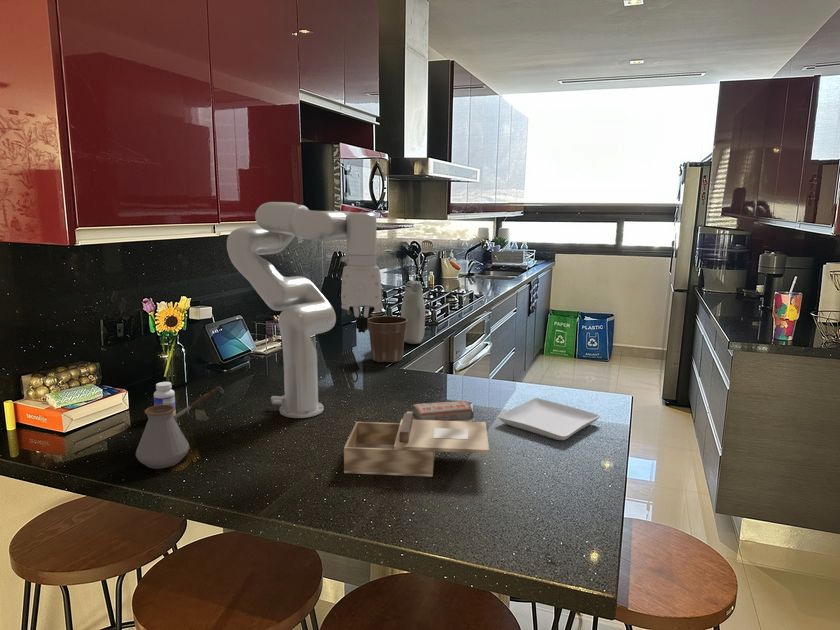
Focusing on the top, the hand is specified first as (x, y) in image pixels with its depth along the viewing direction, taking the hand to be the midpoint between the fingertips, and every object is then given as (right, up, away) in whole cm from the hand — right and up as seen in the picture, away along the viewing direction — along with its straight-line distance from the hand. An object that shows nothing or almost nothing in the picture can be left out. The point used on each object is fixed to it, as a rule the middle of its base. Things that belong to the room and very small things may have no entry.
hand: (362, 331), depth 149 cm
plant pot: (+2, -13, +76) cm, 77 cm away
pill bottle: (-57, -25, +12) cm, 63 cm away
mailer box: (+9, -30, -13) cm, 34 cm away
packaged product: (+21, -26, +13) cm, 36 cm away
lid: (+20, -24, -15) cm, 35 cm away
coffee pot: (-42, -30, -12) cm, 52 cm away
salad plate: (+51, -27, +10) cm, 59 cm away
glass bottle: (+12, -9, +103) cm, 104 cm away
